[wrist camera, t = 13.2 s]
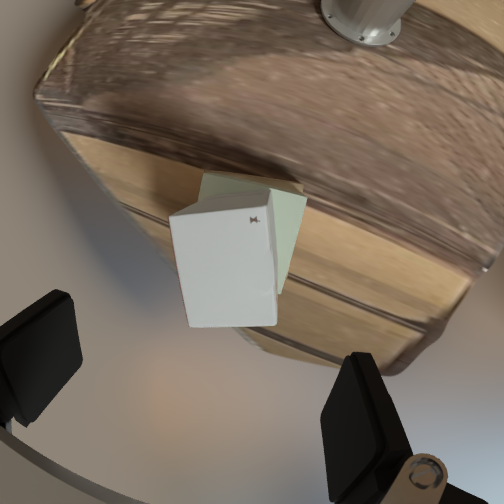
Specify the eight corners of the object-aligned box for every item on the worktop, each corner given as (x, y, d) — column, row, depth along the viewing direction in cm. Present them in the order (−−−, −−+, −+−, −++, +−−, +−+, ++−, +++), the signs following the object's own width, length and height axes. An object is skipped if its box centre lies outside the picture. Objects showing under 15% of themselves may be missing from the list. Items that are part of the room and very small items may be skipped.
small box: (210, 194, 30) (165, 213, 17) (272, 188, 29) (269, 202, 17) (220, 268, 32) (187, 329, 19) (278, 264, 31) (279, 326, 19)
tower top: (213, 172, 34) (203, 173, 29) (302, 193, 34) (307, 197, 29) (196, 257, 37) (185, 270, 32) (279, 278, 37) (280, 294, 32)
